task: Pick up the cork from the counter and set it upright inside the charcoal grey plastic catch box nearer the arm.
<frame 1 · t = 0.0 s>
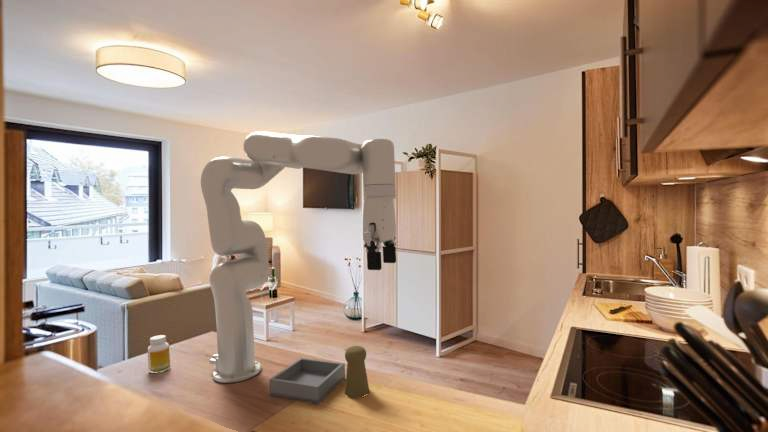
hand: (382, 266, 89), 31 cm above the worktop, tool pointing down, fingers open, 9 cm apart
cork: (357, 392, 93), on the worktop
supplement bottle: (159, 370, 110), on the worktop
catch box: (309, 386, 96), on the worktop
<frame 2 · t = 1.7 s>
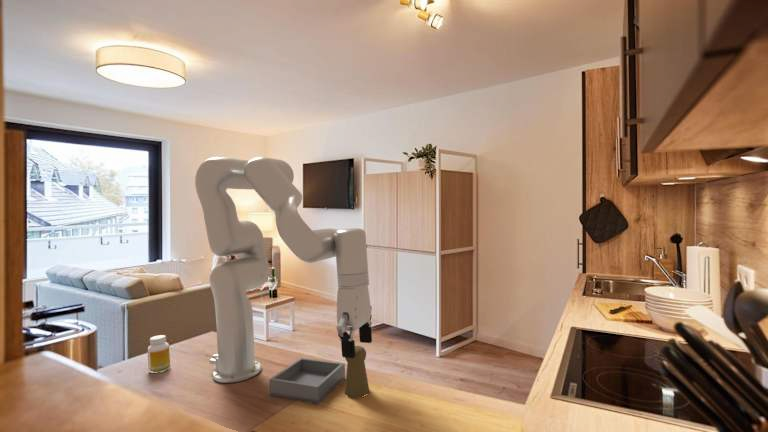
hand: (357, 349, 92), 11 cm above the worktop, tool pointing down, fingers open, 9 cm apart
nothing on the worktop moved.
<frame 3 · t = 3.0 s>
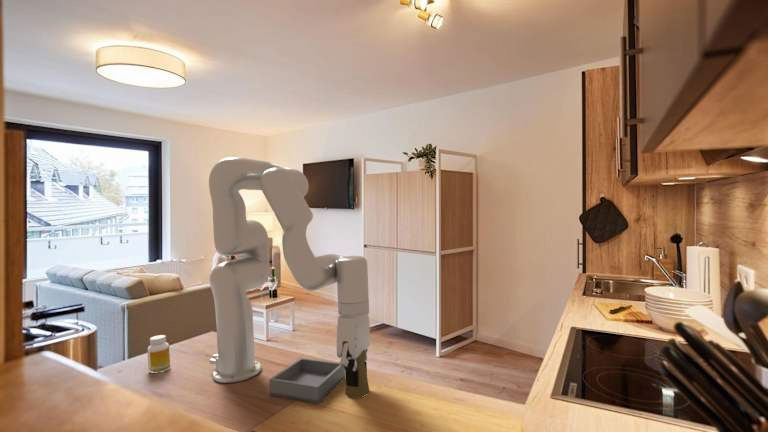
hand: (356, 380, 92), 3 cm above the worktop, tool pointing down, fingers closed on cork, 4 cm apart
cork: (357, 392, 93), on the worktop, touching gripper
everything else where it was.
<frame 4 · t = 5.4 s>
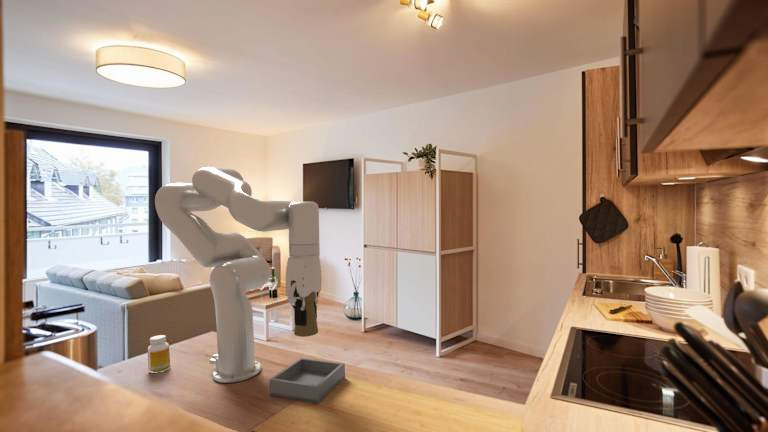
hand: (305, 321, 96), 17 cm above the worktop, tool pointing down, fingers closed on cork, 4 cm apart
cork: (306, 333, 96), point 14 cm above the worktop, touching gripper
everything else where it was.
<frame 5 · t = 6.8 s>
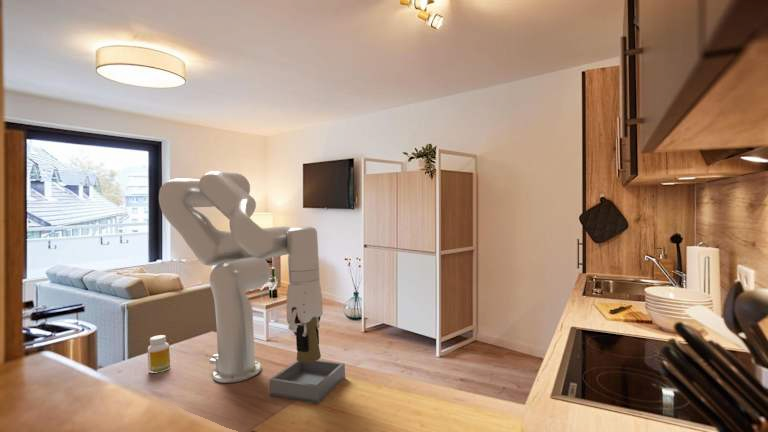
hand: (308, 346, 96), 10 cm above the worktop, tool pointing down, fingers closed on cork, 4 cm apart
cork: (308, 358, 96), point 7 cm above the worktop, touching gripper
everything else where it was.
when the fingers open (5 cm above the worktop, at t = 8.0 s): cork drops 2 cm, resting on catch box.
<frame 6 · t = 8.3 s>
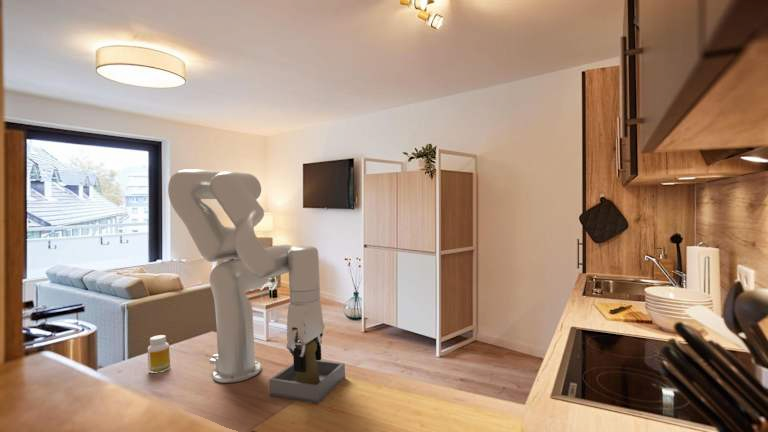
hand: (308, 364, 96), 6 cm above the worktop, tool pointing down, fingers open, 6 cm apart
cork: (308, 383, 96), point 1 cm above the worktop, touching catch box
everything else where it was.
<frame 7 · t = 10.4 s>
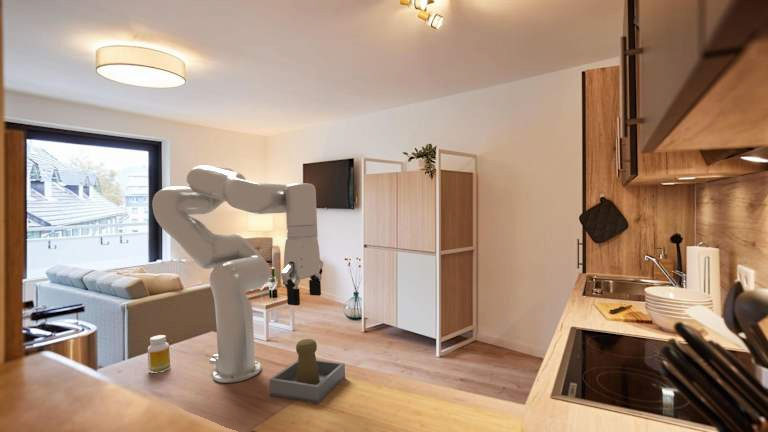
hand: (305, 299, 96), 22 cm above the worktop, tool pointing down, fingers open, 9 cm apart
nothing on the worktop moved.
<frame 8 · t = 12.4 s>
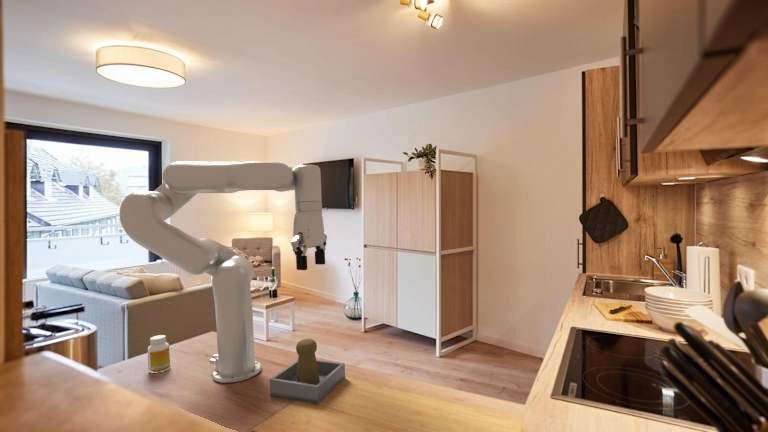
hand: (311, 266, 110), 28 cm above the worktop, tool pointing down, fingers open, 9 cm apart
nothing on the worktop moved.
at the end: cork inside the target area on the catch box (0.3 cm from its centre), point 0.6 cm above the catch box's base; cork tilted 0°; the gripper is holding nothing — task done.
